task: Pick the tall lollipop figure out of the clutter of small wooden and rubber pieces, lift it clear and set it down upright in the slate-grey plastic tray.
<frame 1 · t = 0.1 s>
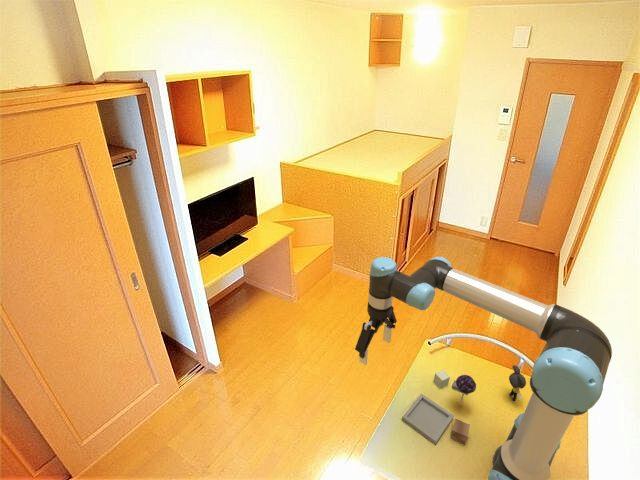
hand: (375, 351, 120), 28 cm above the table, fingers open, 13 cm apart
tray: (427, 419, 128), on the table
lollipop: (459, 405, 133), on the table
rubber eraser: (460, 389, 140), on the table
walnut cube: (458, 436, 123), on the table
toy 2: (510, 399, 135), on the table
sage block: (440, 383, 142), on the table
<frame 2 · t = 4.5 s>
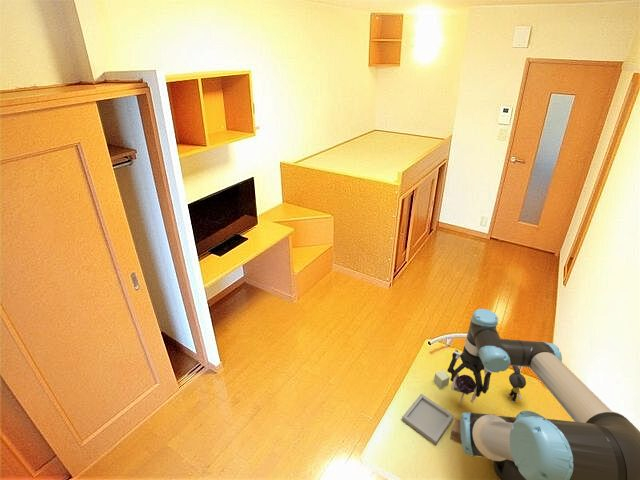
hand: (463, 393, 130), 7 cm above the table, fingers closed on lollipop, 7 cm apart
lollipop: (459, 405, 133), on the table, touching gripper
everything else where it was.
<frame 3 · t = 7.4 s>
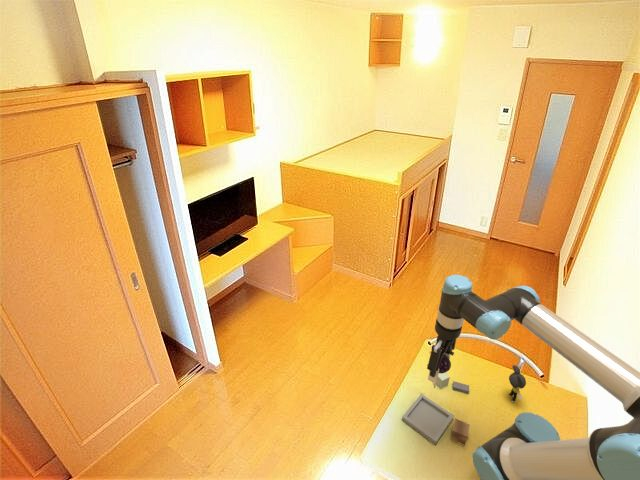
hand: (437, 374, 116), 24 cm above the table, fingers closed on lollipop, 7 cm apart
lollipop: (434, 387, 120), point 17 cm above the table, touching gripper
everything else where it was.
when the fingers open (8 cm above the table, at t = 10.5 s): lollipop stays where it is, resting on tray.
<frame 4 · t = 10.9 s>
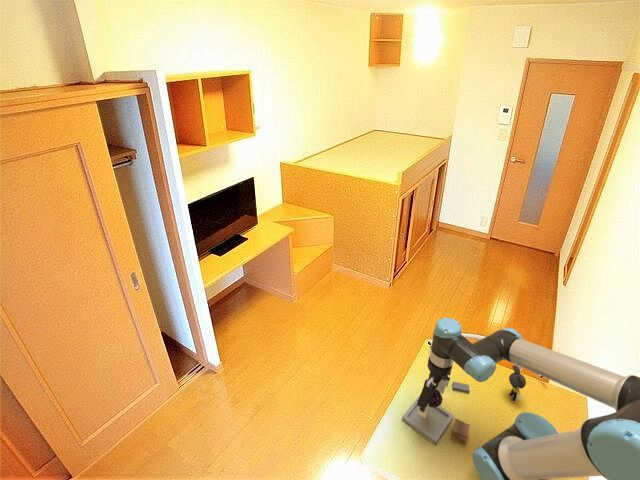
hand: (431, 402, 124), 9 cm above the table, fingers open, 12 cm apart
lollipop: (427, 419, 128), resting on tray
everything else where it was.
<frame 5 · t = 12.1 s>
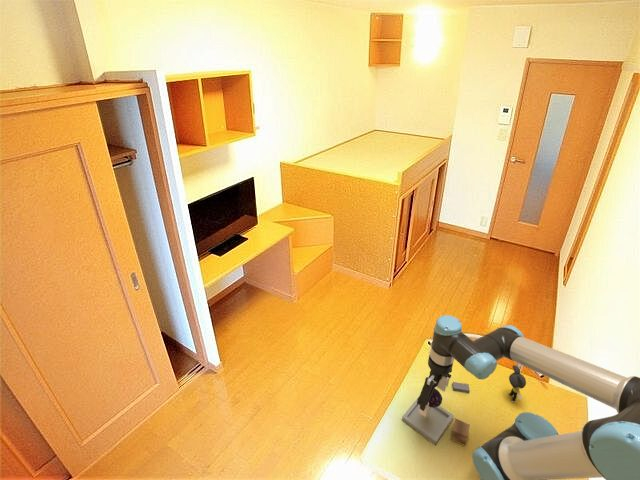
hand: (431, 401, 123), 11 cm above the table, fingers open, 13 cm apart
nothing on the table moved.
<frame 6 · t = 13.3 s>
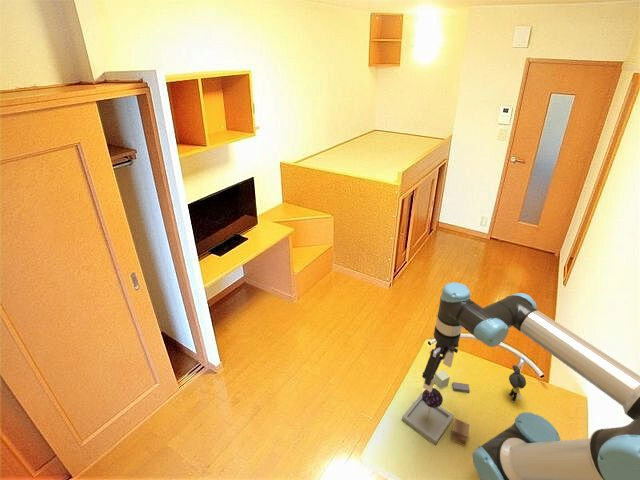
hand: (437, 376, 117), 23 cm above the table, fingers open, 13 cm apart
nothing on the table moved.
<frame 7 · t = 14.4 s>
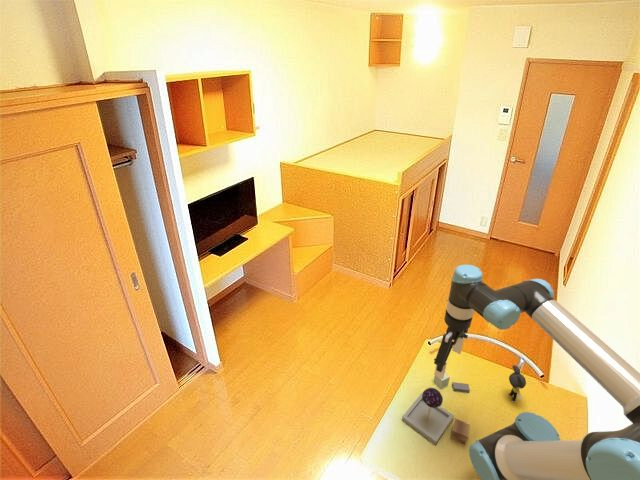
hand: (447, 363, 114), 29 cm above the table, fingers open, 13 cm apart
nothing on the table moved.
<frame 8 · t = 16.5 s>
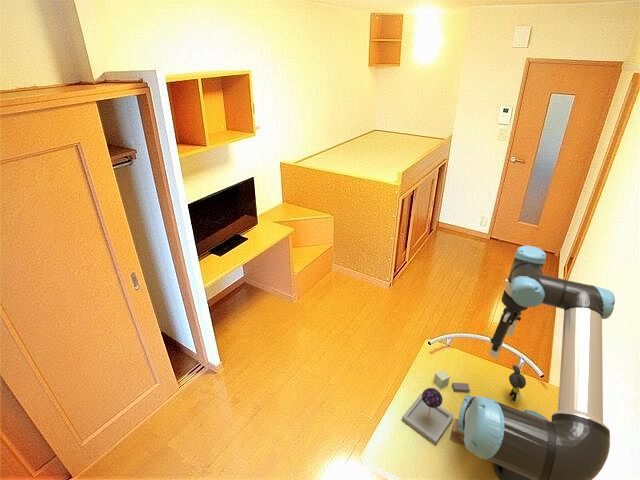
hand: (500, 344, 116), 33 cm above the table, fingers open, 13 cm apart
nothing on the table moved.
at the end: lollipop inside the target area on the tray (0.1 cm from its centre), point 0.4 cm above the tray's base; lollipop tilted 0°; the gripper is holding nothing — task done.
